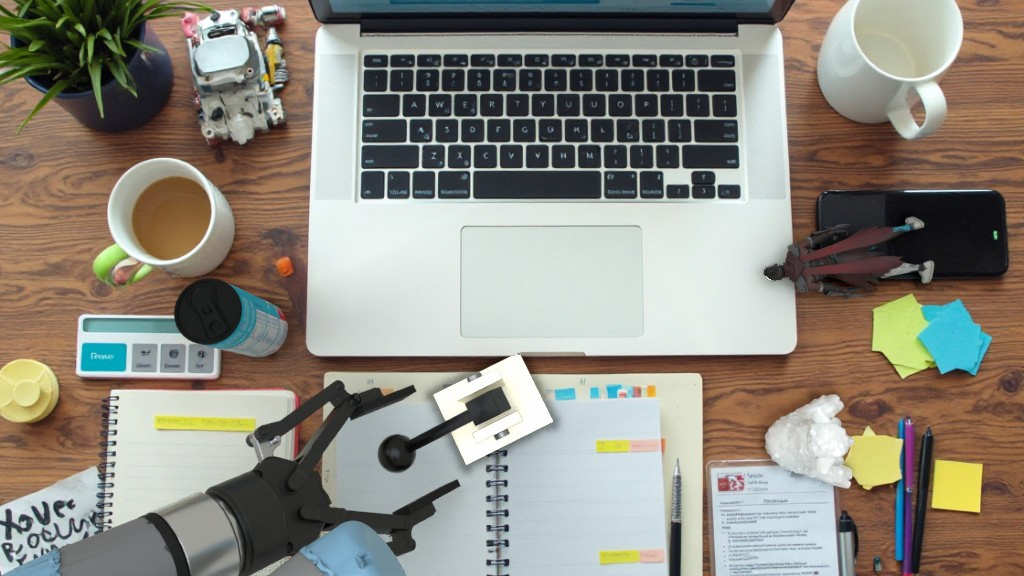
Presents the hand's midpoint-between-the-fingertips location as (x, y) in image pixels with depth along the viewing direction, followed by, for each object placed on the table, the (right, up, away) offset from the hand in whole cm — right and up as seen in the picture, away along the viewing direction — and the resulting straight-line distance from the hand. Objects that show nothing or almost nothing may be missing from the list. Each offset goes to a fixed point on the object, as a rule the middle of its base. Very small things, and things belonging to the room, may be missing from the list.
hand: (429, 438), depth 76 cm
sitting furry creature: (+38, -1, +4) cm, 38 cm away
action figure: (+43, +17, +7) cm, 47 cm away
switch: (+2, +2, -5) cm, 5 cm away
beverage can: (-18, +10, +6) cm, 22 cm away
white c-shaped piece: (+6, +2, +4) cm, 8 cm away
